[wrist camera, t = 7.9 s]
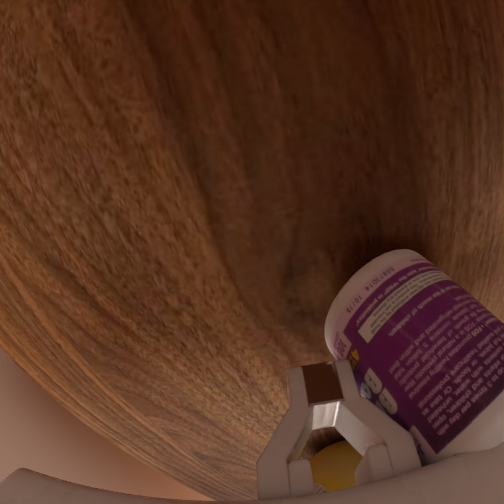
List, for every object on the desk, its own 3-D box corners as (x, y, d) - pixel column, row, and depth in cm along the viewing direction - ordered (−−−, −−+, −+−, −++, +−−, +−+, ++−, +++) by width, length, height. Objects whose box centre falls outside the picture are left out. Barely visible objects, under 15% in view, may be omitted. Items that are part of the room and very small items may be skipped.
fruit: (267, 465, 24) (274, 561, 16) (336, 415, 19) (361, 548, 11) (352, 466, 27) (367, 545, 19) (426, 418, 22) (456, 514, 13)
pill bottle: (291, 330, 11) (449, 560, 3) (394, 218, 10) (610, 406, 3) (356, 361, 14) (470, 511, 7) (431, 280, 13) (569, 413, 6)
